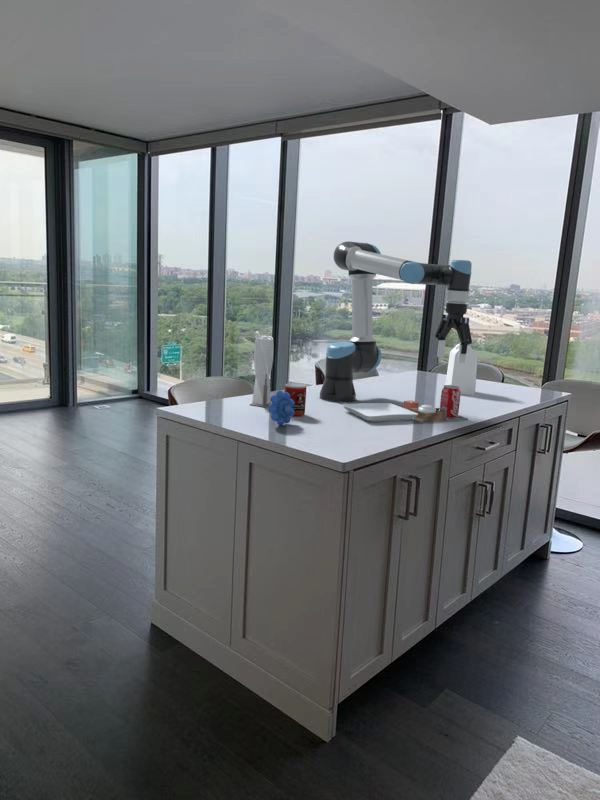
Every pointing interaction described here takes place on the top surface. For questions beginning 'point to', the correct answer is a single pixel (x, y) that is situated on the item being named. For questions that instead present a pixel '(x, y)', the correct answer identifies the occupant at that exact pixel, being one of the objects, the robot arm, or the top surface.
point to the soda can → (450, 401)
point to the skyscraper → (262, 370)
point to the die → (410, 404)
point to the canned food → (297, 397)
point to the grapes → (281, 407)
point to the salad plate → (380, 412)
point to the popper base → (428, 415)
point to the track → (455, 419)
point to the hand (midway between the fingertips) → (450, 359)
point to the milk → (462, 371)
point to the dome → (427, 409)
